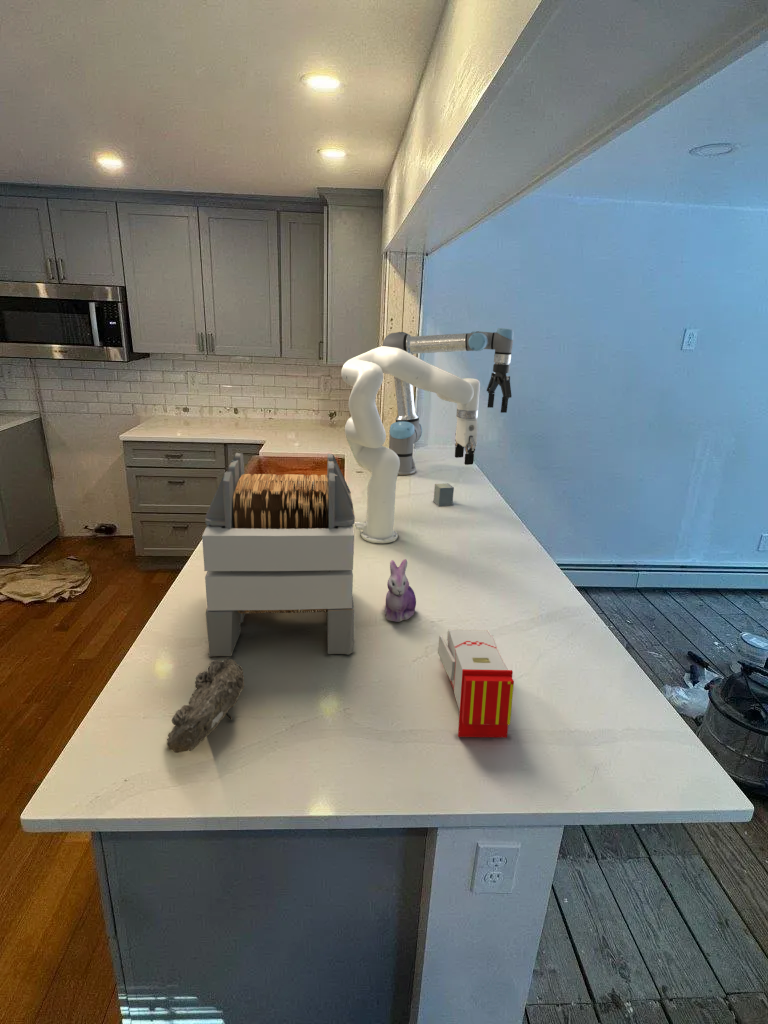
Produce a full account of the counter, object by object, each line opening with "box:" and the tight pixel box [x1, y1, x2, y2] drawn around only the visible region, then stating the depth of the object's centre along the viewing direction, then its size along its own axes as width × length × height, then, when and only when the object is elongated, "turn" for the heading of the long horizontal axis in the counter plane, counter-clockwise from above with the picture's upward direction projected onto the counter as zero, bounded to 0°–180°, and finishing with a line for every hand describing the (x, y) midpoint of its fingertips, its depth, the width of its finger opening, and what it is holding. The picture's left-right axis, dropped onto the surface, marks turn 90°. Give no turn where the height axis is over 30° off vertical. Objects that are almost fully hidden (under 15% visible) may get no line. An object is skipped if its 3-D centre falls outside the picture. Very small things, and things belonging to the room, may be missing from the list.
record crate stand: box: [201, 452, 356, 658], centre depth 136 cm, size 34×33×41 cm
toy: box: [437, 628, 515, 738], centre depth 117 cm, size 12×13×30 cm
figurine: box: [384, 558, 417, 623], centre depth 145 cm, size 9×10×15 cm
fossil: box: [166, 658, 245, 754], centre depth 106 cm, size 22×10×15 cm
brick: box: [433, 482, 455, 507], centre depth 232 cm, size 6×6×8 cm
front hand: (463, 460), depth 207 cm, fingers open, 9 cm apart
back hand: (496, 410), depth 267 cm, fingers open, 13 cm apart
